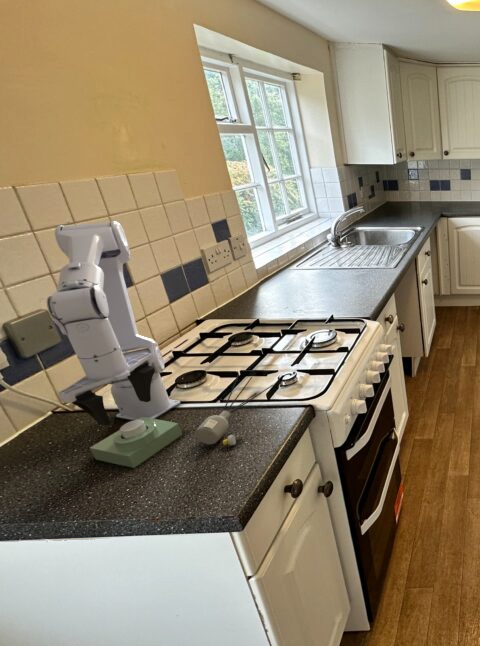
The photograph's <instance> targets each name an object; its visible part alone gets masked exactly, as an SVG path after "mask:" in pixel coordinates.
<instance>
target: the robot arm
mask: <svg viewBox="0 0 480 646" xmlns="http://www.w3.org/2000/svg"><path fill="white" fill-rule="evenodd" d="M54 236H55V241H56V243H57V245H58V248H59V249H60V251H61V252H62V253H63V254H65V256H66V257H67V258H68V259H69V261H68V262H69V263H67V264H65V265H64V266H63V267H61V269H60V271H59V277H58V281H57V282H58V283H57V289H56V291H55V292H53V293H52V295H49V296H47V298H46V308H47V311H48V313H49V316H50V318H51V320H52V321H53V322H54V323H55V324H56V325H57V326H58V328H59V330H60V332H61V334H62V335H63V336H67V338H68V340H69V343H70V344H71V346H72V348H73V351H74V353H75V355H76V357H77V359H78V361H79V363H80V365H81V368H82V370H83V372H84V374H85V376H84V377H82V378H80V379H79V380H77V381H75V382H74V383H72V384H71V385H69V386H67V387H66V388H64V389H62V390H60V391H58V392H57V395H58V397H59V400H60V401H61V403H65V404H72V405H74V406H76V407H78V408H80V409H81V410H82V411H84V412H85V413H86V414H88V415H89V416H90V417H91V418H92V419H93V420H94V421H95V422H96V423H97V424H98V425H100V426H104V427H107V426H109V425H110V424H111V419H110V417H109V415H108V412H107V411H106V408H105V405H104V395H99V394H96V392H93V391H94V390H97V389H99V388H101V387H103V386H105V385H107V384H108V385H111V386H110V393H111V396H112V398H113V401H114V402H115V405H116V407H117V409H118V411H119V413H117V414H116V415H115V416H116V418H120V419H124V420H129V421H134V420H137V419H139V418H141V417H147V418H152V419H157V418H158V417H160V416H162V415H164V414H165V413H167V412H168V411H170V410H171V409H173V408H175V407H177V406H178V405H180V404H181V401H180V400H177V399H172V398H170V397H169V395H168V392H167V390H166V387H165V385H164V384H165V383H164V382H163V379H162V377H161V373H163V371H164V370H165V362H164V361H165V360H164V356H163V354H162V352H161V350H160V347H159V344H158V342H157V341H156V340H154V339H153V338H150V337H147V336H143V335H140V334H139V330H138V327H137V323H136V319H135V316H134V315H135V314H134V311H133V308H132V303H131V300H130V297H129V292H128V289H127V285H126V281H125V277H124V264H125V263H127V262H129V261H130V260H131V251H130V247H129V243H128V240H127V236H126V233H125V231H124V228H123V226H122V225H121V223H120V222H117V221H115V220H111V221H107V222H106V221H105V222H97V223H95V222H94V223H84V224H83V223H81V224H70V225H63V224H62V225H57V226H56V228H54Z"/></svg>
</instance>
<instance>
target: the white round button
mask: <svg viewBox="0 0 480 646" xmlns="http://www.w3.org/2000/svg"><path fill="white" fill-rule="evenodd" d="M119 430H120V431H121V433H122V435H123V438H124V439H131V438H134V437H137V436H140V435H141V434H143V433H145V432H146V431H147V428H146V426H145V424H144V421H143V420H130V421H128V422H126V423H124V424H123V425H121V427H120V428H119Z"/></svg>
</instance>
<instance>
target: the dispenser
mask: <svg viewBox="0 0 480 646" xmlns="http://www.w3.org/2000/svg"><path fill="white" fill-rule="evenodd" d="M137 420H143V421H144V424H145V426H146V428H147V431H146V432H145V433H143V434H141V435H140V436H137V437H134V438H131V439H124V438H123V435H122V433H121V431H120V429H118V430H117V431H116V432H114V433H112V434H111V435H109V436H108V437H105V438H104V439H102V440H100V441H99V442H97V443H95V444H93V445H92V446H90V447H89V449H90V451H91V453H92V455H93V457H94V460H95V461H96V460H97V461H101V462H106V463H110V464H113V465H119V466H122V467H123V466H124V467H128V468H133V469H135V468H137V466H139V465H140V464H142V463H143V462H145V461H146V460H148V459H149V458H151V457H152V456H153V455H155V454H157V453H158V452H159V451H161V450H162V449H163V448H165V447H166V446H169V445H170V444H171V443H172V442H174V441H175V440H177V439H179V437H181V436H182V435H183V432H182V429H181V426H180V424H179V423H178V422H173V421H167V420H163V419H157V418H155V419H152V418H147V417H141V418H139V419H137Z"/></svg>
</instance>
